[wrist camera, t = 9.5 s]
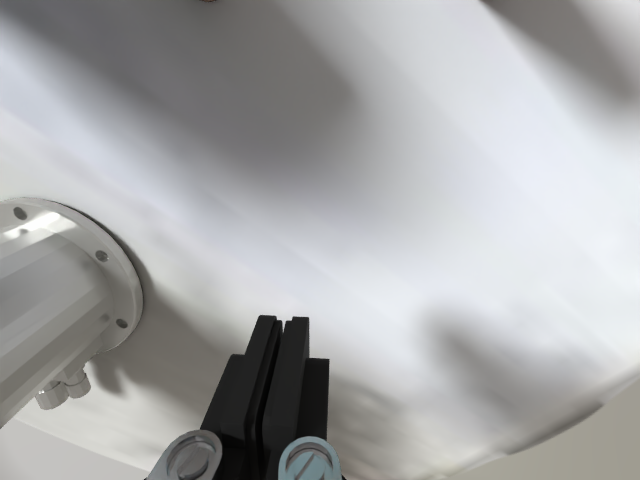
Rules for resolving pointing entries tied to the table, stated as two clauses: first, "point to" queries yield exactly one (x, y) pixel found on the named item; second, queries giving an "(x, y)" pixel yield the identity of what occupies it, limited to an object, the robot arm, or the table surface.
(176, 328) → the table surface
